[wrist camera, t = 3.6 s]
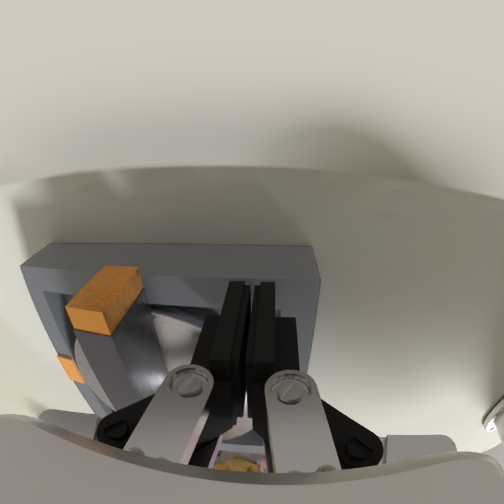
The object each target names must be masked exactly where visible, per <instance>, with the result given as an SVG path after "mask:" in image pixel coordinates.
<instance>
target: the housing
mask: <svg viewBox="0 0 504 504" xmlns="http://www.w3.org/2000/svg"><path fill="white" fill-rule="evenodd" d="M105 265H107V266H128V267H139V269H140V273H141V278H142V282H143V287H144V288H145V289H146V293H147V297H148V301H149V304H161V305H174V306H188V307H195V308H197V309H199V310H201V311H204V312H206V313H208V314H214V315H220V314H221V310H222V306H223V303H224V299H225V295H226V292H227V288H228V285H229V281H245V285H250V288H251V311H252V303H253V295H254V287H255V285H260V283H261V282H275V317H296V325H297V338H298V352H299V366H300V371H302V372H304V373H306V374H307V370H308V364H309V359H310V353H311V346H312V340H313V334H314V327H315V320H316V313H317V306H318V298H319V290H320V282H321V279H320V275H319V271H318V267H317V264H316V260H315V256H314V253H313V249H312V246H265V245H200V244H101V243H50V244H49V245H47V246H46V247H45V248H43V249H42V250H40V251H39V252H38V253H36V254H35V255H33V256H32V257H31V258H29V259H28V260H27V261H25V262H24V263H23V264H21V265H20V268H21V271H22V274H23V277H24V279H25V282H26V285H27V288H28V290H29V293H30V295H31V298H32V300H33V303H34V305H35V308H36V310H37V312H38V314H39V317H40V319H41V321H42V323H43V325H44V328H45V330H46V332H47V334H48V336H49V338H50V340H51V342H52V344H53V346H54V348H55V350H56V352H57V353H58V356H57V357H58V359H59V361H60V362H61V364H62V366H63V368H64V369H65V371H66V373H67V375H68V376H69V378H70V379H71V380H73V381H74V383H75V385H76V386H77V388H78V389H79V391H80V392H81V394H82V395H83V397H84V398H85V400H86V401H87V403H88V404H89V406H90V407H91V409H92V410H93V412H94V413H95V414H96V415H99V417H100V418H104V417H105V416H107V415H109V414H111V413H113V412H115V411H114V410H113V409H112V408H110V407H109V406H108V405H107V404H106V403H104V402H103V401H102V400H101V399H100V398H99V397H98V396H97V395H96V394H95V393H94V392H93V390H92V389H91V388H90V387H89V385H88V384H87V382H86V381H85V379H84V378H83V376H82V374H81V372H80V370H79V368H78V365H77V362H76V358H75V341H76V336H75V333H74V331H73V329H74V327H73V325H72V322H71V320H70V317H69V315H68V312H67V310H66V307H65V306H66V305H67V304H68V303H69V302H70V301H71V300H72V299H73V298H74V297H75V296H76V295H77V294H78V292H79V291H80V290H81V289H82V288H83V287H84V286H85V285H86V284H87V283H88V282H89V281H90V280H91V279H92V278H93V277H94V276H95V275H96V274H97V273H98V272H99V271H100V270H101V269H102V268H103V267H104V266H105ZM219 450H221V451H231V452H244V453H262V454H264V447H263V438H262V437H261V436H260V435H258V434H257V433H256V432H255V431H254V430H253V429H252V430H250V431H249V432H247V433H245V434H243V435H241V436H238V437H235V438H232V439H227V440H222V443H221V446H220V449H219Z"/></svg>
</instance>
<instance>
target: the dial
mask: <svg viewBox="0 0 504 504" xmlns="http://www.w3.org/2000/svg"><path fill="white" fill-rule="evenodd" d="M65 307H66V310H67V312H68V315H69V317H70V320H71V322H72V325H73V327H74V329H73V331H74V333H75V336H76V341H75V358H76V362H77V365H78V368H79V370H80V372H81V374H82V376H83V378H84V379H85V381H86V382H87V384H88V385H89V387H90V388H91V389H92V390H93V392H94V393H95V394H96V395H97V396H98V397H99V398H100V399H101V400H102V401H103V402H104V403H106V404H107V405H108V406H109V407H110V408H112V409H113V410H114V411H118V410H120V409H122V408H124V407H127V406H129V405H131V404H133V403H136V402H138V401H140V400H142V399H144V398H146V397H148V396H151V395H153V394H155V393H156V392H157V390H158V389H159V387H160V385H161V384H162V382H163V380H164V379H165V377H166V376H167V374H168V373H169V372H170V371H171V370H173V369H174V368H176V367H179V366H181V365H187V364H190V363H191V360H192V357H193V354H194V350H195V347H196V344H197V341H198V338H199V335H200V332H201V329H202V326H203V323H204V320H205V317H206V315H207V314H208V313H206V312H204V311H201V310H199V309H197V308H195V307H188V306H174V305H161V304H149V301H148V297H147V293H146V289H145V288H144V287H143V282H142V278H141V273H140V269H139V267H128V266H107V265H105V266H104V267H103V268H102V269H101V270H100V271H99V272H98V273H97V274H96V275H95V276H94V277H93V278H92V279H91V280H90V281H89V282H88V283H87V284H86V285H85V286H84V287H83V288H82V289H81V290H80V291H79V292H78V294H77V295H76V296H75V297H74V298H73V299H72V300H71V301H70V302H69V303H68V304H67V305H66V306H65ZM250 430H252V418H248V412H247V392H246V398H245V406H244V415H243V418H242V417H237V424H236V425H233V428H232V429H230V430H228V431H227V432H225V433H224V436H223V440H227V439H232V438H235V437H238V436H241V435H243V434H245V433H247V432H249V431H250Z"/></svg>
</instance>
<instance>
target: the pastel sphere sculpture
mask: <svg viewBox="0 0 504 504" xmlns="http://www.w3.org/2000/svg"><path fill="white" fill-rule="evenodd" d="M212 469H221V470H231V471H243V472H260V473H267V471H266V463H265V455H264V454H262V453H244V452H231V451H222V452H221V455H220V456H217V457H216V460H215V462H214V465H213V468H212Z"/></svg>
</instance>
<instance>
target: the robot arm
mask: <svg viewBox="0 0 504 504" xmlns="http://www.w3.org/2000/svg"><path fill="white" fill-rule="evenodd" d="M246 392H247V412H248V418H252V429H253V430H254V431H255V432H256V433H257V434H258V435H260V436H261V437H262V438H263V447H264V455H265V463H266V471H267V473H260V472H243V471H231V470H221V469H212V468H213V465H214V462H215V460H216V457H217V454H218V451H219V449H220V446H221V443H222V440H223V436H224V433H225V432H227V431H228V430H230V429H232V428H233V425H236V424H237V417H242V418H243V415H244V406H245V398H246ZM484 428H485V430H486V431H487V432H491V431H494V430H497V431H498V433H499V436H500V438H501V440H502V443H503V446H504V398H503V399H502V400H501V401H500V402H499V403H498V404H497V405H496V406H495V407H494V409H493V410H492V411H491V412H490V413H489V415H488V416H487V418H486V419H485V421H484ZM0 504H504V470H503V469H502V467H501V465H500V464H499V463H498V462H497V461H496V460H495V459H494V458H493V457H490V456H489V455H485V454H481V453H477V452H467V451H462V452H457V449H456V446H455V443H454V442H453V441H452V439H451V438H449V437H447V436H445V435H387V437H378V436H377V435H375V434H374V433H373V432H371V431H370V430H368V429H366V428H365V427H363V426H362V425H360V424H358V423H357V422H355V421H354V420H352V419H351V418H349V417H347V416H346V415H344V414H343V413H341V412H340V411H338V410H337V409H335V408H334V407H332V406H331V405H329V404H328V403H326V402H325V401H323V400H322V399H321V398H320V395H319V392H318V388H317V385H316V383H315V381H314V380H313V379H312V378H311V377H310V376H309V375H308V374H306V373H304V372H302V371H300V366H299V352H298V338H297V325H296V317H275V282H261V283H260V285H255V287H254V295H253V303H252V311H251V288H250V285H245V281H229V285H228V288H227V292H226V295H225V299H224V303H223V306H222V310H221V314H220V315H214V314H207V315H206V317H205V320H204V323H203V326H202V329H201V332H200V335H199V338H198V341H197V344H196V347H195V350H194V354H193V357H192V360H191V363H190V364H187V365H181V366H179V367H176V368H174V369H173V370H171V371H170V372H169V373H168V374H167V376H166V377H165V379H164V380H163V382H162V384H161V385H160V387H159V389H158V390H157V392H156V393H155V394H153V395H151V396H148V397H146V398H144V399H142V400H140V401H138V402H136V403H133V404H131V405H129V406H127V407H124V408H122V409H120V410H118V411H115V412H113V413H111V414H109V415H107V416H105V417H104V418H100V417H99V415H96V414H86V413H77V412H69V411H62V410H55V409H52V410H47V411H44V412H43V413H42V414H41V415H40V416H39V418H38V419H37V418H34V417H30V416H25V415H17V414H3V415H0Z"/></svg>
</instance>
